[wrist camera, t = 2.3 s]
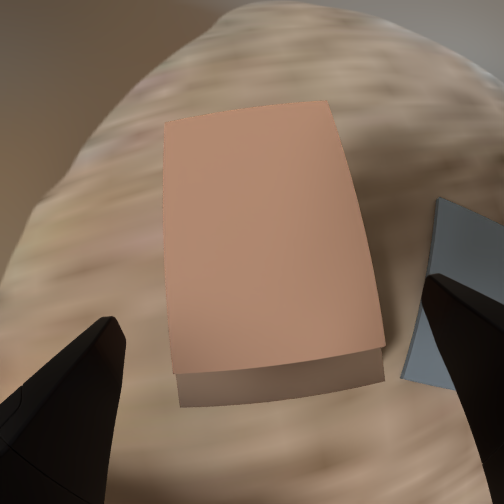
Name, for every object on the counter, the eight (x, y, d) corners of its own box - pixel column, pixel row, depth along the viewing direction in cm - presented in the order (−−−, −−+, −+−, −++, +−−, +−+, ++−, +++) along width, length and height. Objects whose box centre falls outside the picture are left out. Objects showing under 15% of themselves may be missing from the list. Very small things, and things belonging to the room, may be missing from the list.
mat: (509, 399, 15) (513, 400, 14) (399, 378, 16) (403, 379, 16) (532, 244, 17) (535, 242, 17) (436, 199, 19) (439, 196, 18)
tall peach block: (314, 343, 14) (385, 345, 5) (240, 353, 14) (172, 373, 5) (299, 242, 16) (327, 100, 6) (228, 251, 16) (165, 122, 6)
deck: (368, 375, 16) (384, 381, 13) (195, 397, 17) (180, 407, 14) (340, 212, 19) (350, 190, 16) (180, 233, 20) (165, 215, 17)
